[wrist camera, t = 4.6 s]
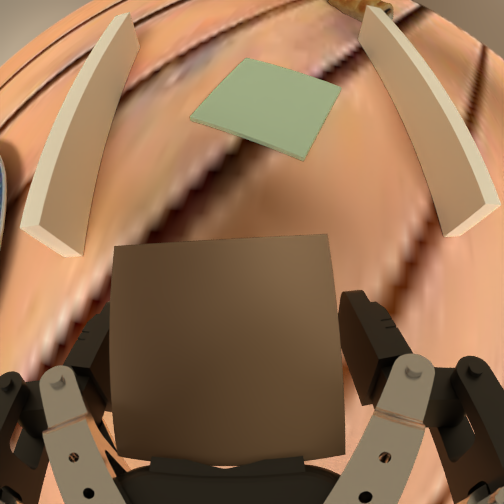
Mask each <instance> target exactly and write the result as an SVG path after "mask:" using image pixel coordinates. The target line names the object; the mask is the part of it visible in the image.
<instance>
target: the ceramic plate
mask: <svg viewBox="0 0 504 504" xmlns="http://www.w3.org/2000/svg"><path fill="white" fill-rule="evenodd" d="M6 203H7V179H6V170H5V166H4V162H3V160H2V158H1V156H0V249H1V243H2V236H3V230H4V223H5V215H6Z"/></svg>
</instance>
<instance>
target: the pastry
mask: <svg viewBox="0 0 504 504" xmlns="http://www.w3.org/2000/svg"><path fill="white" fill-rule="evenodd" d="M328 2H329V4H331V5H332V6H334V7H336V8H337V9H338V10H340V11H341V12H342V13H344V14H347V15H349V16H351V17H353V18H355V19H357V20H359V21H361V22H363V18H364V14H365V10H366V6H367V5H368V6H373V7H378V8H381V9H382V10H383V11H384V13H385V14H386V15H387V16H388V17H389V18H390V19H391V20H393V6H392V5H391V4H390V3H385V2H383V1H381V0H328Z"/></svg>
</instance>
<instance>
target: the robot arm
mask: <svg viewBox="0 0 504 504" xmlns="http://www.w3.org/2000/svg"><path fill="white" fill-rule="evenodd" d="M338 322H339V332H340V344H341V349H342V352H343V354H344V357H345V360H346V362H347V365H348V368H349V371H350V373H351V376H352V379H353V382H354V384H355V387H356V390H357V393H358V396H359V399H360V402H361V404H362V406H365V405H370V404H373V407H374V409H375V411H374V413H373V415H372V417H371V419H370V421H369V424H368V426H367V428H366V430H365V432H364V434H363V436H362V438H361V440H360V442H359V444H358V446H357V447H356V449H355V451H354V453H353V455H352V457H351V459H350V460H349V462H348V464H347V466H346V467H345V469H344V471H343V473H342V474H341V475H339V474H337V473H335V472H333V471H331V470H328V469H325V468H322V467H318V466H313V465H304V459H303V456H298V457H288V458H277V459H265V460H261V461H257V462H254V463H250V464H246V465H242V466H238V467H233V468H228V469H222V468H217V467H213V466H209V465H205V464H201V463H198V462H194V461H190V460H187V459H173V458H162V457H153V456H152V457H151V463H150V465H148V466H143V467H139V468H136V469H133V470H131V469H130V467H129V466H128V464H127V463H126V462H125V460H124V459H123V457H119V456H117V449H116V443H115V441H114V439H113V437H112V435H111V433H110V431H109V429H108V427H107V425H106V423H105V421H104V419H103V418H102V417H103V414H104V411H108V412H112V401H111V385H110V355H109V327H110V301H109V302H107V303H106V304H105V306H104V308H103V309H102V311H101V313H100V314H96V315H95V316H94V317H93V318H92V319H90V320H89V321H88V322H87V324H86V325H85V327H84V329H83V331H82V333H81V334H80V336H79V337H78V340H77V341H76V342H75V344H74V346H73V348H72V349H71V351H70V353H69V355H68V357H67V358H66V360H65V362H64V364H63V366H56V367H53V368H51V369H49V370H48V371H46V372H45V373H44V374H43V376H42V377H41V380H40V381H32V382H25V381H24V380H23V378H22V377H21V376H20V374H19V373H17V372H13V371H12V372H7V373H5V374H3V375H2V376H0V504H38V502H39V498H40V493H41V489H42V485H43V481H44V477H45V474H46V470H47V466H48V463H49V461H50V464H51V467H52V470H53V473H54V476H55V479H56V482H57V485H58V488H59V490H60V493H61V496H62V498H63V501H64V503H65V504H398V501H399V499H400V497H401V495H402V492H403V490H404V488H405V485H406V483H407V480H408V478H409V475H410V473H411V470H412V468H413V465H414V462H415V459H416V457H417V454H418V451H419V448H420V445H421V442H422V439H423V436H424V432H425V427H429V429H430V432H431V435H432V437H433V440H434V443H435V446H436V448H437V451H438V454H439V457H440V460H441V463H442V466H443V469H444V472H445V475H446V478H447V482H448V485H449V488H450V492H451V495H452V499H453V502H454V504H504V390H503V388H502V386H501V385H500V383H499V382H498V380H497V378H496V377H495V375H494V373H493V372H492V370H491V369H490V367H489V366H488V364H487V363H486V362H485V361H483V360H482V359H480V358H478V357H475V356H466V357H463V358H461V359H460V360H459V361H458V363H457V365H456V367H455V368H437V367H434V366H433V365H432V363H431V362H430V361H429V360H428V359H427V358H425V357H423V356H421V355H418V354H413V352H412V351H411V349H410V347H409V346H408V344H407V342H406V341H405V339H404V337H403V336H402V334H401V332H400V331H399V329H398V328H396V324H395V323H394V321H393V320H392V318H391V316H390V315H389V313H388V312H387V310H386V309H385V308H384V307H382V306H381V305H380V304H378V303H377V302H370V301H369V299H368V298H367V296H366V294H365V293H364V291H363V290H355V291H345V292H342V294H341V298H340V306H339V313H338ZM466 415H467V417H468V419H469V421H470V423H471V425H470V423H469V421H468V419H467V417H466ZM17 422H18V423H19V425H20V426H21V427H22V428H23V429H22V431H21V434H20V436H19V439H18V442H17V444H16V447H15V450H14V453H12V451H11V449H10V444H9V443H10V438H11V436H12V433H13V431H14V428H15V426H16V423H17ZM471 426H472V428H473V430H474V432H473V430H472V428H471ZM474 433H475V434H474Z"/></svg>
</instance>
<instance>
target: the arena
mask: <svg viewBox="0 0 504 504" xmlns="http://www.w3.org/2000/svg"><path fill="white" fill-rule="evenodd" d="M358 41H359V43H360V44H361V46H362V47H363V49H364V50H365V52H366V54H367V55H368V57H369V59H370V60H371V62H372V64H373V65H374V67H375V69H376V71H377V72H378V74H379V76H380V78H381V80H382V81H383V83H384V85H385V87H386V89H387V91H388V93H389V95H390V97H391V99H392V101H393V103H394V105H395V107H396V109H397V111H398V113H399V115H400V117H401V119H402V121H403V124H404V126H405V128H406V130H407V132H408V135H409V137H410V139H411V142H412V144H413V147H414V149H415V152H416V154H417V157H418V159H419V162H420V164H421V167H422V170H423V172H424V175H425V178H426V181H427V184H428V187H429V189H430V192H431V196H432V199H433V202H434V205H435V208H436V212H437V215H438V218H439V222H440V225H441V229H442V233H443V237H457V236H461V235H462V234H464V233H465V232H466V231H468V230H469V229H470V228H472V227H473V226H475V225H476V224H477V223H479V222H480V221H481V220H483V219H484V218H485V217H486V216H488V215H489V214H490V213H492V212H493V211H494V210H496V209H497V208H498V207H499V206H501V203H500V200H499V197H498V194H497V192H496V189H495V187H494V184H493V182H492V179H491V177H490V174H489V172H488V170H487V167H486V165H485V163H484V161H483V158H482V156H481V154H480V152H479V150H478V148H477V146H476V144H475V142H474V140H473V138H472V136H471V134H470V132H469V130H468V128H467V126H466V125H465V123H464V121H463V119H462V117H461V116H460V114H459V112H458V110H457V109H456V107H455V105H454V104H453V102H452V100H451V99H450V97H449V95H448V94H447V92H446V91H445V89H444V88H443V86H442V85H441V83H440V82H439V80H438V79H437V77H436V76H435V74H434V73H433V71H432V70H431V69H430V67H429V66H428V64H427V63H426V62H425V60H424V59H423V58H422V56H421V55H420V54H419V52H418V51H417V50H416V49H415V47H414V46H413V45H412V44H411V42H410V41H409V40H408V39H407V37H406V36H405V35H404V34H403V33H402V31H401V30H400V29H399V28H398V27H397V26H396V25H395V23H394V22H393V21H392V20H391V19H390V18H389V17H388V16H387V15H386V14H385V13H384V11H383V10H382V9H381V8H378V7H373V6H368V5H367V6H366V10H365V14H364V18H363V22H362V26H361V30H360V33H359V37H358ZM139 49H140V45H139V42H138V38H137V35H136V32H135V28H134V25H133V21H132V18H131V15H130V12H128V13H124V14H121V15H117V16H115V17H114V19H113V20H112V22H111V23H110V24H109V26H108V27H107V29H106V30H105V32H104V33H103V34H102V36H101V37H100V39H99V41H98V42H97V44H96V45H95V47H94V48H93V50H92V52H91V53H90V55H89V56H88V58H87V60H86V61H85V63H84V65H83V67H82V68H81V70H80V72H79V74H78V75H77V77H76V79H75V81H74V83H73V85H72V87H71V88H70V90H69V92H68V94H67V96H66V98H65V100H64V102H63V104H62V107H61V109H60V111H59V113H58V115H57V117H56V120H55V122H54V124H53V126H52V129H51V131H50V134H49V136H48V138H47V141H46V144H45V146H44V149H43V151H42V154H41V157H40V160H39V162H38V165H37V168H36V171H35V174H34V177H33V180H32V183H31V187H30V190H29V193H28V197H27V200H26V204H25V208H24V212H23V216H22V220H21V224H20V228H21V229H22V230H23V231H25V232H26V233H28V234H29V235H31V236H32V237H34V238H35V239H37V240H38V241H40V242H41V243H43V244H44V245H46V246H47V247H49V248H50V249H52V250H54V251H55V252H57V253H58V254H60V255H62V256H63V257H79V256H83V253H84V245H85V238H86V232H87V226H88V220H89V214H90V209H91V203H92V198H93V193H94V189H95V184H96V180H97V175H98V171H99V167H100V163H101V159H102V155H103V151H104V148H105V144H106V141H107V137H108V134H109V130H110V127H111V124H112V121H113V117H114V114H115V111H116V108H117V105H118V102H119V100H120V97H121V94H122V91H123V88H124V86H125V83H126V80H127V78H128V75H129V73H130V70H131V68H132V65H133V63H134V61H135V58H136V56H137V53H138V51H139Z"/></svg>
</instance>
